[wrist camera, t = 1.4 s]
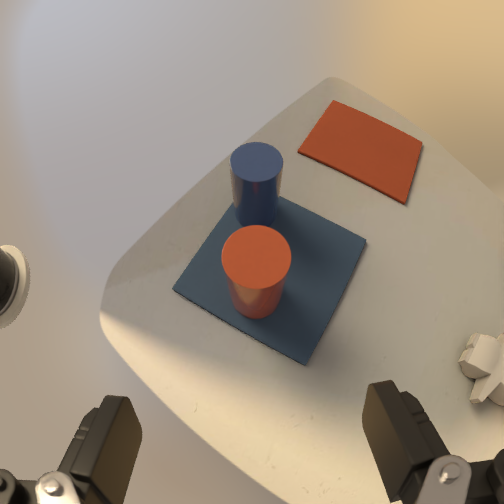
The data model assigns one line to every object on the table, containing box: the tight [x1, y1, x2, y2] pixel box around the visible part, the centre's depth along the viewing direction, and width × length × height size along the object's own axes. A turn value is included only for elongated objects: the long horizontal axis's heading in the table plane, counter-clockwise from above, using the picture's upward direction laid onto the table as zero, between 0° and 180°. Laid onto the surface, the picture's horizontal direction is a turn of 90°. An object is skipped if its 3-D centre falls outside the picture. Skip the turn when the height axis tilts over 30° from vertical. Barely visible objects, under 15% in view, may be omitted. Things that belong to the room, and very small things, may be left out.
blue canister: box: [229, 142, 283, 227], centre depth 33 cm, size 5×5×9 cm
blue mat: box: [172, 196, 366, 365], centre depth 34 cm, size 16×16×1 cm
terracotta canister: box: [222, 225, 291, 319], centre depth 28 cm, size 5×5×10 cm
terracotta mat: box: [298, 100, 422, 204], centre depth 42 cm, size 16×14×1 cm
